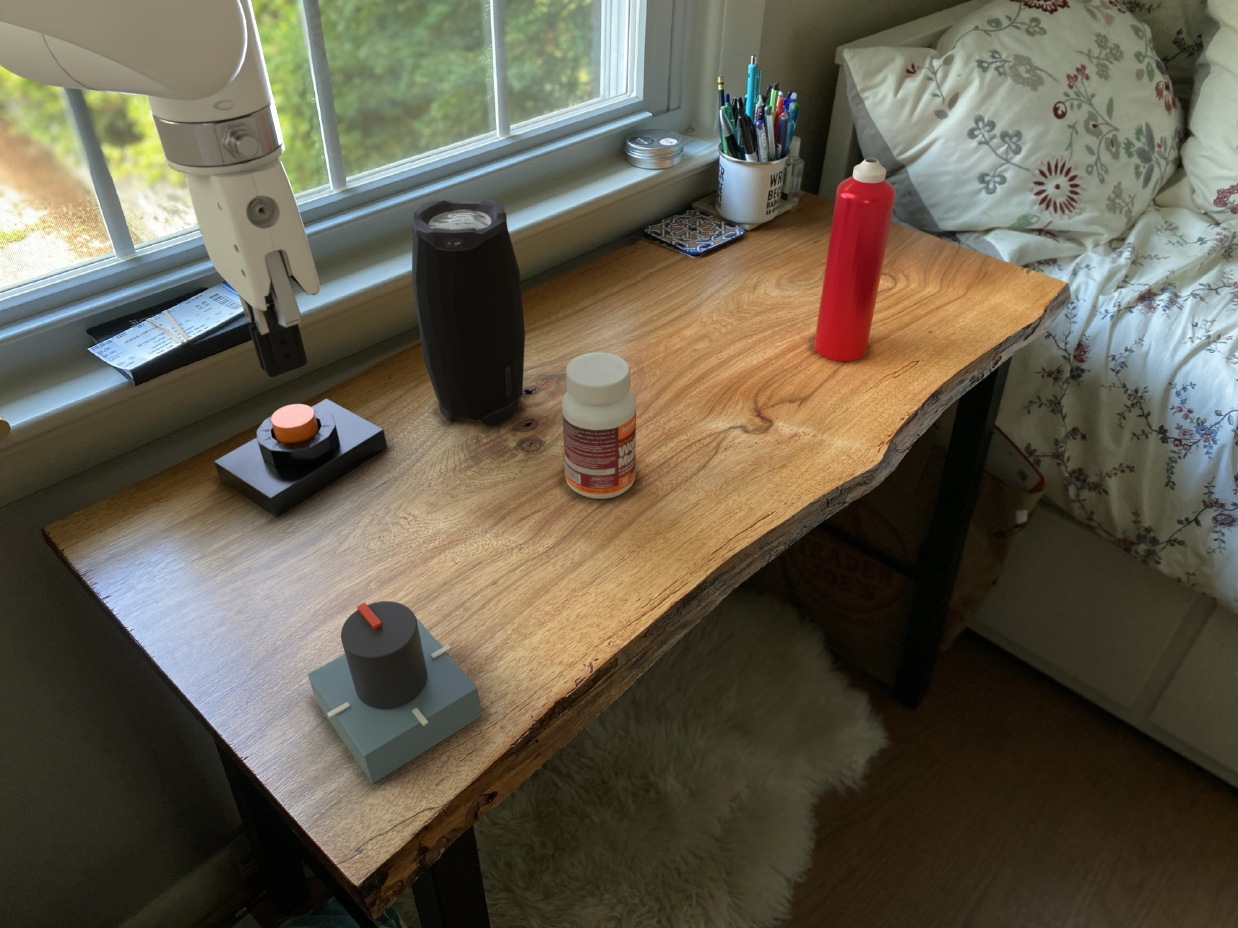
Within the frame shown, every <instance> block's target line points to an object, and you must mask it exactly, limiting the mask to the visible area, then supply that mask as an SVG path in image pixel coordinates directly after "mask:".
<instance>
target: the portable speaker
mask: <svg viewBox="0 0 1238 928" xmlns="http://www.w3.org/2000/svg"><path fill="white" fill-rule="evenodd" d="M507 217H508V216H507V213H506V211H505V208H504V205H503V204H501V203H499V202H497V201H495V200H494V199H493V200H492V199H483V200H446V199H440V198H437V199H433V200H430V201H427V202H424V203H422V205H420V206H419V207H418V208H417V209H416V210H415V211H414V212H413V219H412V220H413V228H412V231H411V232H412V233H411V234H412V236H411V237H412V239H411V240H412V241H411V254H412V255H411V286H412V292H413V298H414V305H415V311H416V317H417V324H418V329H419V335H420V342H421V349H422V355H423V361H424V365H425V367H426V370H427V373H428V377H429V379H430V382H431V386H432V388H433V391H434V394H435V398H436V399H437V400H438V407H439V411H440V413H441V414H442V415H443V416H444V418H445V419H446V420H447V422H453V421H456V420H457V419H460V420H468V421H475V422H481V423H482V424H483V425H484V426H485V427H498V426H500V425H501V424H504V423H506V422H507V421H510V420H512V419H513V418H514V416H515V415H516V414H517V413H518V411H519V409H520V408H519V407H520V403H521V402H520V401H521V397H523V389H524V369H525V368H524V367H525V366H524V365H525V345H526V328H525V317H524V306H523V305H524V303H523V293H522V281H521V272H520V268H519V264H518V260H517V257H516V254H515V250H514V249H515V248H514V246H513V243H512V239H511V236H510V232H509V228H508V222H507Z"/></svg>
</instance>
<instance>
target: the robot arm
mask: <svg viewBox="0 0 1238 928" xmlns="http://www.w3.org/2000/svg"><path fill="white" fill-rule="evenodd" d="M0 66H1V67H2V68H3V69H5V70H7V72H9V73H11V74H13V75H16V76H18V77H20V78H23V79H25V80H29V81H31V82H34V83H37V84H40V85H46V86H51V87H57V88H64V89H72V90H73V89H74V90H82V91H91V92H92V91H93V92H101V93H107V92H108V93H116V94H124V95H134V96H143V97H146V100H147V103H148V107H149V110H150V113H151V116H152V119H153V122H154V125H155V129H156V132H157V135H158V139H159V141H160V145H161V148H162V151H163V154H164V158H165V161H166V164H167V166H168V167H169V168H170V169H172V170H174V171H175V172H178V173H182V174H183V176H184V178H185V182H186V185H187V188H188V193H189V196H190V200H191V203H192V207H193V211H194V214H195V218H196V221H197V225H198V229H199V231H200V234H201V238H202V241H203V243H204V246H205V249H206V253H207V254H208V257H209V260H210V261H211V264H212V266H213V267H214V269H215V270H216V272H217V273H218V274H219V275H220V276H221V277H222V279H224V280H225V282H226V283H227V284H228V285H229V286H230V287H231V288H232V289H233V290H234V291H235V292H236V293H237V295H238V298H239V301H240V303H241V307H242V310H243V311H244V316H245V318H246V320H247V321H248V323H249V324H248V325H247V326H248V330H249V333H250V336H251V340H252V344H253V347H254V351H255V355H256V358H257V360H258V364H259V367H260V368H261V369H262V371H264V372H265V374H266V375H267V376H268V377H269V378H275V377H278V376H281V375H283V374H286V373H289V372H291V371H294V370H298V369H300V368H303V367H305V366H306V365H307V364H308V358H307V354H306V350H305V347H304V343H303V342H304V341H303V338H302V334H301V331H300V330H301V329H300V326H299V324H302V323H303V317H302V314H301V311H300V308H299V305H298V302H297V299H296V296H295V293H294V290H293V287H292V284H291V281H292V282H293V283H294V284H295V285H296V286H297V287H299V288H300V289H301V290H302V291H303V292H304V293H305V294H306V295H307V296H316V295H318V294H319V293H320V289H321V284H320V280H319V275H318V272H317V268H316V264H315V261H314V257H313V254H312V250H311V246H310V243H309V240H308V236H307V232H306V229H305V225H304V222H303V219H302V216H301V215H302V214H301V213H300V209H299V204H298V203H297V200H296V196H295V194H294V190H293V187H292V185H291V182H290V180H289V176H288V175H287V172H286V170H285V167H284V164H283V162H282V160H281V159H280V157H281V156H282V155H283V153H284V152H285V148H286V147H285V143H284V139H283V134H282V131H281V126H280V122H279V118H278V117H279V116H278V113H277V108H276V105H275V99H274V96H273V91H272V87H271V81H270V79H269V75H268V70H267V65H266V61H265V57H264V52H263V48H262V43H261V39H260V34H259V30H258V26H257V22H256V18H255V12H254V9H253V4H252V0H0Z"/></svg>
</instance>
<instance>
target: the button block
mask: <svg viewBox="0 0 1238 928" xmlns="http://www.w3.org/2000/svg"><path fill="white" fill-rule="evenodd" d="M310 407H311V408H312V409H313V410H314V412H315V416H316V420H317V424H318V432H317V434H316V435H314V436H313V437H311V438H309V439H308V440H306V441H301V442H297V443H284V442H279V441H278V440H277V439H276V437H275V433H274V430H273V426H272V423H271V417H272V415H270V416H269V417H267V418H265V419H264V420H263V421H262V423H260V426H259V427H258V428H257V430H256V431H255V435H256V437H255V438H253V439H252V440H251V439H250V441H248V442H246V443H244V444H242V445H241V446H238V447H237V448H235V449H233V450H232V451H230V452H228V453H227V454H224V455H223V456H221V457H219V458H217V459H216V460H214V461H213V463H214V466H215V470H216V472H217V475H218V477H219V480H220V482H221V483H223V484H225V485H226V486H227V487H229V488H231V489H232V490H234V491H235V492H237V493H238V494H239V495H241V496H242V497H244V498H245V499H247V500H249V501H250V502H252V503H253V504H255V505H256V506H258V507H259V508H260V509H262V510H263V511H265V512H267V513H268V514H270V515H272V517H274V518H276V519H278V518H280V517H281V516H283V515H284V514H286V513H287V512H289V511H291V510H292V509H294V508H295V507H297V506H299V505H300V504H302V503H303V502H305V501H307V500H308V499H309V498H311V497H313V496H314V495H316V494H317V493H319V492H321V491H322V490H324V489H326V488H328V487H329V486H330V485H332V484H334V483H336V482H337V481H338V480H340V479H341V478H343V477H345V476H346V475H348V474H349V473H352V472H353V471H354V470H355V469H357V468H359V467H360V466H362V465H363V464H365V463H367V462H369V461H370V460H372V459H373V458H375V457H376V456H378V455H379V454H381V453H383V452H384V451H386V450H388V445H387V440H386V434H385V430H384V429H383V428H382V427H380V426H378V425H377V424H374V423H373V422H370V421H369V420H367V419H365V418H363V417H362V416H359V415H358V414H356V413H354V412H352V411H350V410H349V409H347V408H345V407H343V406H342V405H339V404H337V403H336V402H334V401H332V400H330V399H328V398H325V399H323V400H321V401H320V402H318V403H316V404H315V405H312V406H310Z"/></svg>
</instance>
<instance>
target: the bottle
mask: <svg viewBox="0 0 1238 928" xmlns="http://www.w3.org/2000/svg"><path fill="white" fill-rule="evenodd" d="M886 176H887V170H886V168H885V167H884V166H882V164H881V162H880V161H879V160H878V159H877V158H874V157H867V158H864V159H863V160H862V161H861V162H860V163H859V164H856V165H855V166H853V171H852V175H851V176H849V177H848V178H845V179H844V180H842V181H841V182H840V183H839V184H838V186H837V188H836V193H835V200H834V207H833V213H832V221H831V227H830V234H829V241H828V248H827V253H826V260H825V267H824V275H823V280H822V289H821V295H820V300H819V301H820V302H819V310H818V314H817V321H816V329H815V336H814V343H813V347H814V350H815V352H817V353H818V354H819V355H820V356H821V357H824V358H826V359H828V360H832V361H836V362H837V361H838V362H853V361H857V360H860V359H861V358H863V357H864V356H865V355H866V353H867V351H868V345H869V340H870V335H871V330H872V324H873V320H874V315H875V309H876V303H877V298H878V293H879V286H880V283H881V277H882V271H883V267H884V262H885V261H884V260H885V255H886V251H887V245H888V239H889V234H890V230H891V229H890V228H891V223H892V218H893V213H894V207H895V202H896V197H897V192H896V188H895V187H894V186H893V184H891V183H890V182H889V181H888V180H887V179H886Z"/></svg>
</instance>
